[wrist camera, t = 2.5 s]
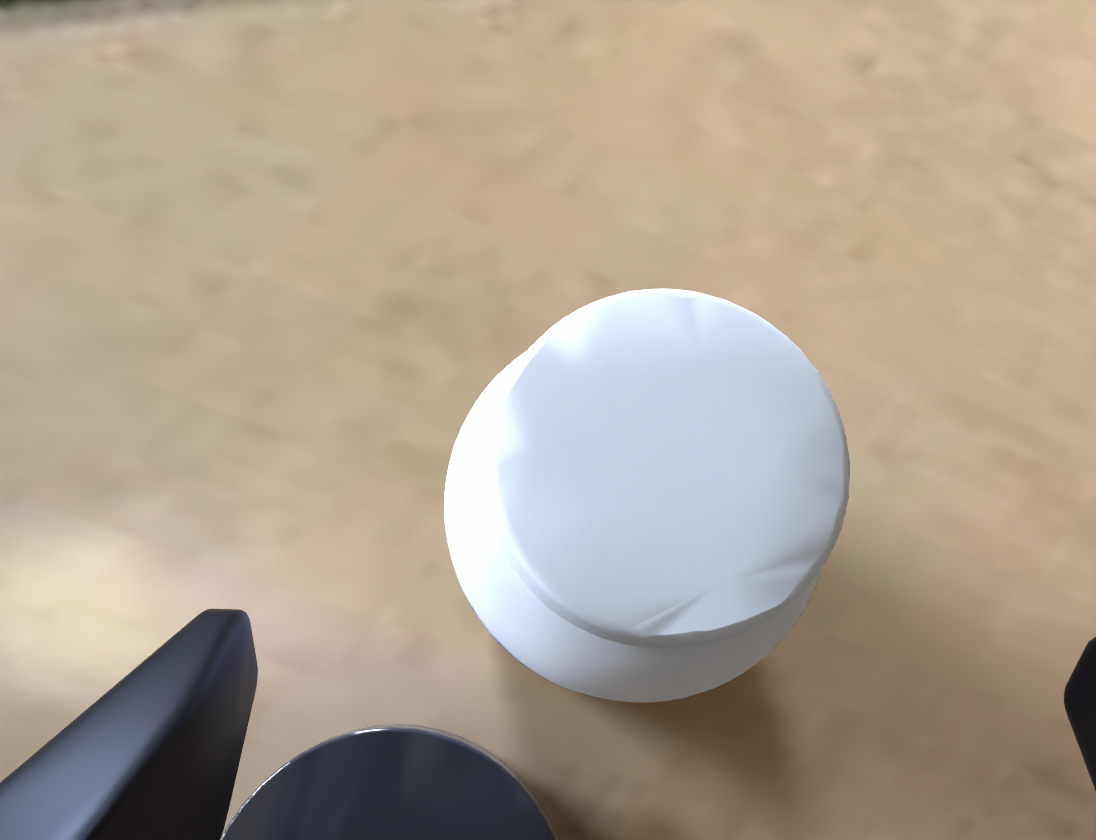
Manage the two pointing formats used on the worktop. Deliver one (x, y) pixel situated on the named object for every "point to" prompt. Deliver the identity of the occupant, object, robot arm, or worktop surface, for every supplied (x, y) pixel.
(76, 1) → the worktop surface
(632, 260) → the worktop surface
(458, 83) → the worktop surface
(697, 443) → the pill bottle
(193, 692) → the robot arm
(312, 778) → the coaster
